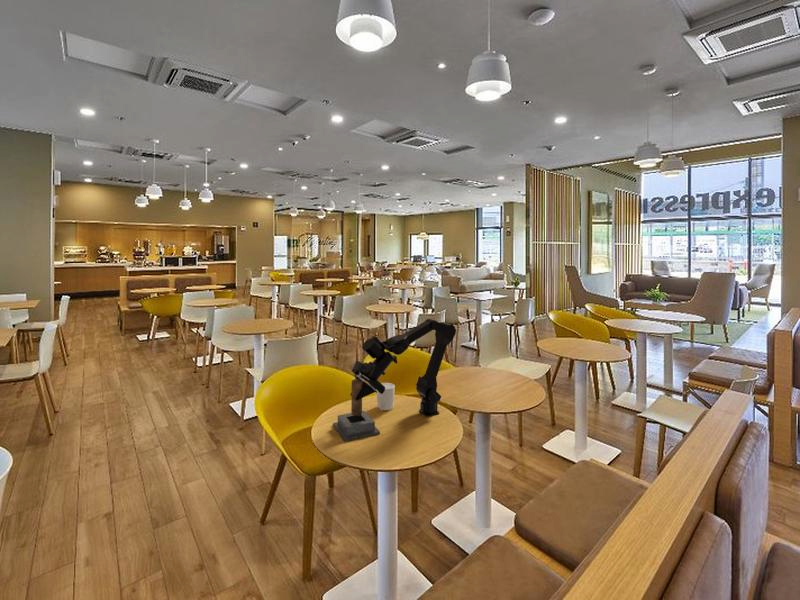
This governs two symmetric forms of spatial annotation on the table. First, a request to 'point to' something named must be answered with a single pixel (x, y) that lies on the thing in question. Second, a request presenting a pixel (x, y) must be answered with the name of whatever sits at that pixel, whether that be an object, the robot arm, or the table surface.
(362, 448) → the table surface
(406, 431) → the table surface
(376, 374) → the robot arm
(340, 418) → the socket
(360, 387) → the peg
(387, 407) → the white cup
